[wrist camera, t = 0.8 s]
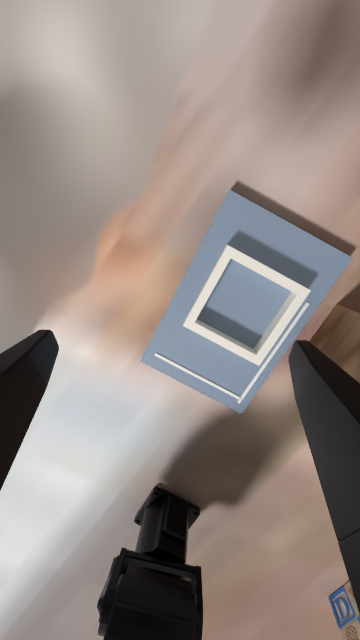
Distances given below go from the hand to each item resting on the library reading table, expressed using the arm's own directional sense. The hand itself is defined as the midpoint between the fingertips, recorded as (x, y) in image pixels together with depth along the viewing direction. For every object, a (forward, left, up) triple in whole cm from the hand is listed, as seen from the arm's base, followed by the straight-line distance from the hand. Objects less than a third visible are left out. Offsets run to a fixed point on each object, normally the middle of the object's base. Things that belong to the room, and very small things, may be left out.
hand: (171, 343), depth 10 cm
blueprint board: (0, -5, -16) cm, 17 cm away
